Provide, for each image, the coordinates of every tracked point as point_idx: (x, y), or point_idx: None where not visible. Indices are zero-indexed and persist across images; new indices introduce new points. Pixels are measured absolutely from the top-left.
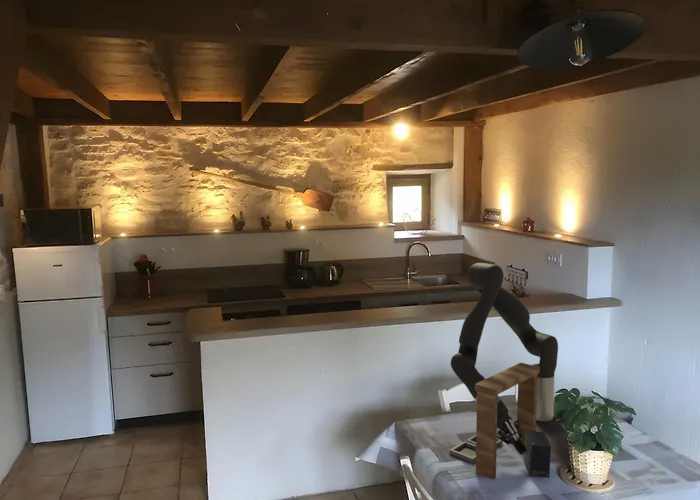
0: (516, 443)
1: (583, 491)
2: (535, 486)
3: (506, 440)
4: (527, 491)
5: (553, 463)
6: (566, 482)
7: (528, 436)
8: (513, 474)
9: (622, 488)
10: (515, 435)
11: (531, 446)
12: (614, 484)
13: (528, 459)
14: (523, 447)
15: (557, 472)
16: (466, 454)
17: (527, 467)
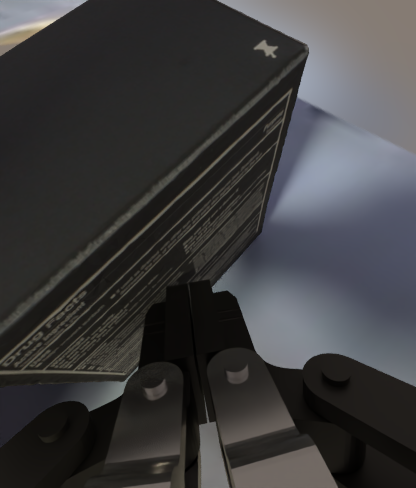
0: (252, 350)
1: None
2: (306, 163)
3: (370, 478)
4: (374, 157)
5: None
6: None
7: (133, 196)
8: (320, 301)
9: (32, 3)
10: (182, 447)
11: (302, 68)
12: (23, 24)
13: (235, 229)
14: (187, 301)
15: None
16: None
17: (224, 266)
